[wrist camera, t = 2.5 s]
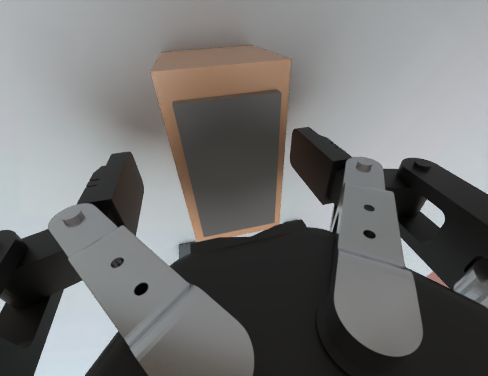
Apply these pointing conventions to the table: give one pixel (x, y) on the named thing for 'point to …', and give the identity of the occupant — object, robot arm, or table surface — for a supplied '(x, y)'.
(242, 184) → the framed panel box
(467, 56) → the table surface
